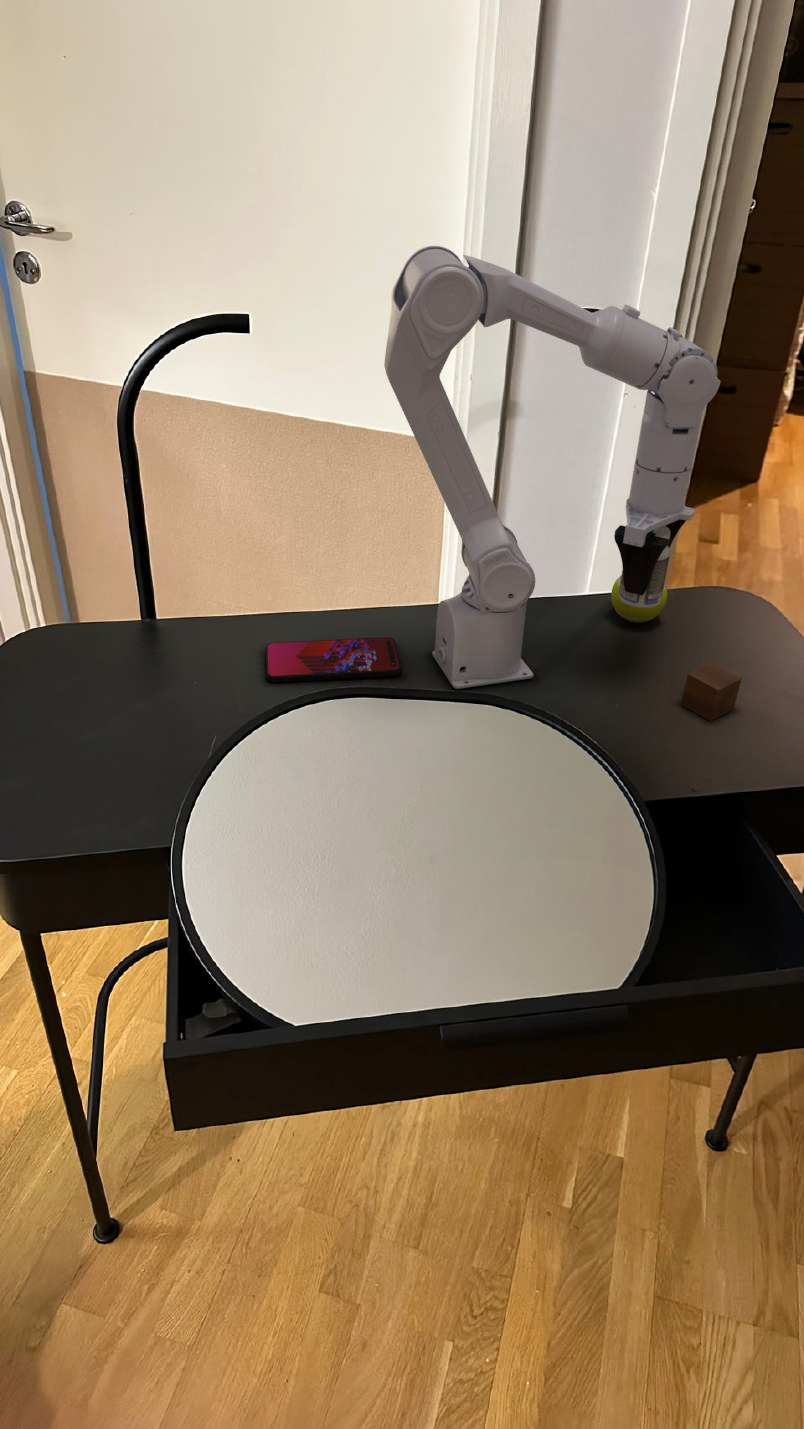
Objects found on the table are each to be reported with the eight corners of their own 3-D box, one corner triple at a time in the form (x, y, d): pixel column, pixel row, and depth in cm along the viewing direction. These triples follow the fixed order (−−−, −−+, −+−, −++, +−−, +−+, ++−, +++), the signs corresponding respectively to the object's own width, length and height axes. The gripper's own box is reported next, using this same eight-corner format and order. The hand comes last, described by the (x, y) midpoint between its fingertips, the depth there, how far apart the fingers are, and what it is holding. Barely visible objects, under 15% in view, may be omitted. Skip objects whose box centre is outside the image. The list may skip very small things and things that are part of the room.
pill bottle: (658, 591, 111) (671, 522, 107) (663, 610, 107) (677, 539, 103) (616, 588, 112) (627, 519, 107) (619, 607, 108) (631, 536, 103)
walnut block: (710, 721, 104) (718, 690, 102) (680, 704, 107) (687, 673, 104) (733, 709, 106) (742, 678, 104) (704, 693, 109) (711, 662, 106)
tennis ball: (658, 636, 119) (668, 586, 115) (603, 626, 121) (611, 577, 117) (664, 612, 124) (674, 564, 121) (611, 603, 126) (619, 555, 122)
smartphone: (265, 642, 113) (394, 636, 115) (265, 648, 114) (394, 642, 116) (266, 677, 107) (402, 670, 109) (266, 684, 107) (402, 677, 109)
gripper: (683, 493, 94) (658, 618, 102) (718, 450, 105) (694, 567, 112) (612, 479, 97) (593, 602, 104) (654, 439, 107) (634, 553, 115)
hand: (641, 583), depth 108 cm, fingers closed on pill bottle, 5 cm apart
